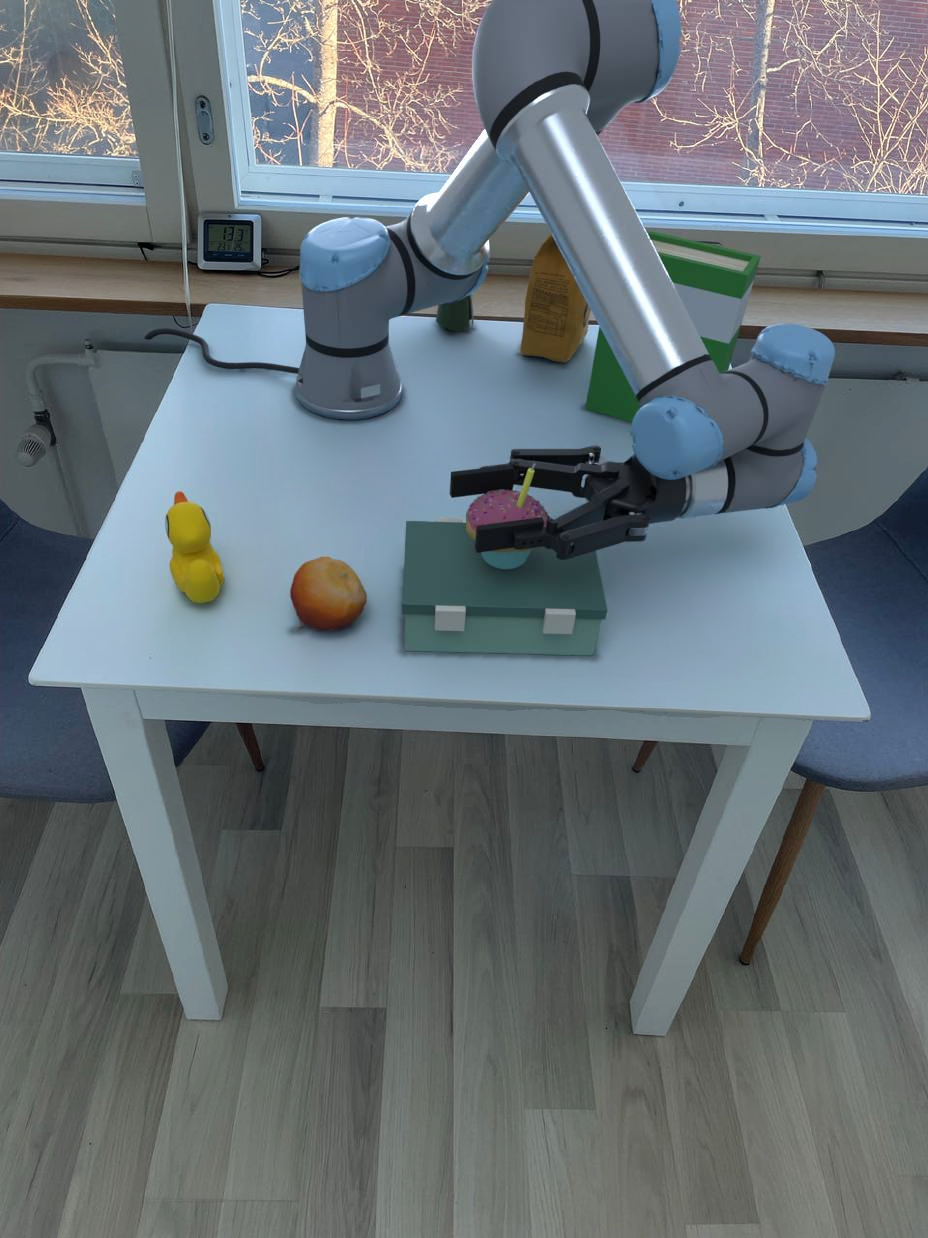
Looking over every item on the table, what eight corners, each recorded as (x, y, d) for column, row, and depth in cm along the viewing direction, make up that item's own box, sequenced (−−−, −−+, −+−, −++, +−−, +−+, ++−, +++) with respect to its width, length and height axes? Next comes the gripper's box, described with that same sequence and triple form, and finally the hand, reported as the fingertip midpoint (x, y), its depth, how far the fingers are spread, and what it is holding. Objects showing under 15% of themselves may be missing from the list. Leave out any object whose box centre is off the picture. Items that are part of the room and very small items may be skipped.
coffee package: (595, 340, 147) (619, 202, 132) (567, 371, 139) (589, 227, 124) (541, 325, 150) (558, 188, 135) (510, 354, 142) (524, 212, 126)
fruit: (276, 583, 97) (310, 534, 93) (340, 609, 100) (376, 563, 96) (270, 635, 91) (307, 585, 87) (338, 661, 95) (376, 614, 90)
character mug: (455, 343, 143) (459, 263, 134) (418, 330, 146) (420, 251, 137) (489, 319, 150) (495, 242, 141) (454, 308, 153) (458, 231, 144)
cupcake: (553, 542, 94) (568, 446, 86) (531, 591, 89) (545, 493, 80) (477, 522, 96) (485, 426, 88) (450, 569, 90) (456, 471, 82)
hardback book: (585, 408, 131) (613, 244, 114) (602, 387, 136) (631, 226, 119) (701, 442, 126) (748, 275, 109) (714, 418, 131) (760, 255, 114)
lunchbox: (401, 658, 92) (402, 609, 87) (405, 564, 103) (406, 515, 98) (597, 663, 93) (608, 615, 88) (580, 569, 104) (590, 522, 99)
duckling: (166, 557, 101) (150, 485, 94) (214, 548, 103) (201, 477, 96) (183, 623, 94) (166, 549, 87) (234, 611, 96) (222, 539, 89)
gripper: (710, 576, 88) (492, 610, 82) (624, 458, 102) (434, 481, 97) (730, 515, 82) (499, 548, 77) (637, 400, 97) (437, 421, 91)
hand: (463, 511), depth 87 cm, fingers closed on cupcake, 8 cm apart
